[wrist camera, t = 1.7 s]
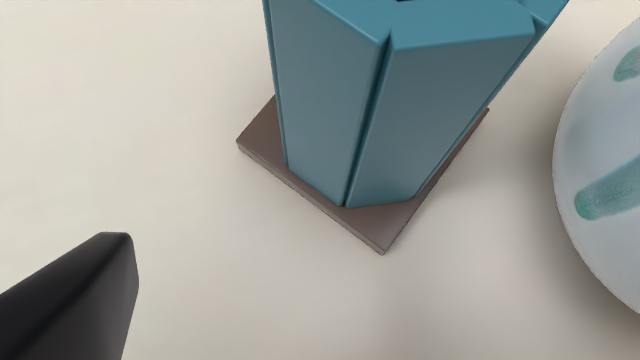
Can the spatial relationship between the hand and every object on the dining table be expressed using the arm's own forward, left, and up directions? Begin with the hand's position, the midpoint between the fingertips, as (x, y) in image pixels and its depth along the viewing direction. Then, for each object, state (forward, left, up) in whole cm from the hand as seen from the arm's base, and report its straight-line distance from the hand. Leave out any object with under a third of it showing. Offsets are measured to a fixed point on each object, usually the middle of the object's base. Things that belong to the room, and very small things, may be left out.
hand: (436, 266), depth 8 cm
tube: (+6, +4, -12) cm, 14 cm away
